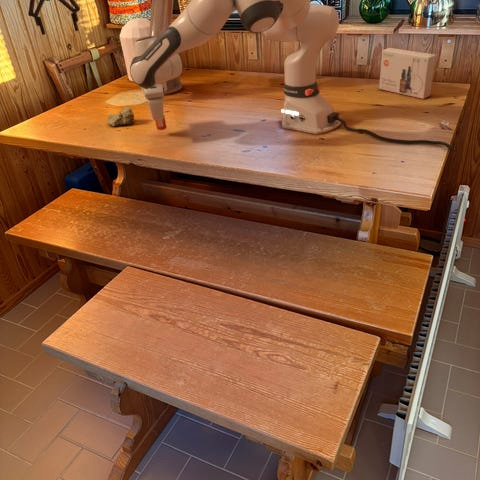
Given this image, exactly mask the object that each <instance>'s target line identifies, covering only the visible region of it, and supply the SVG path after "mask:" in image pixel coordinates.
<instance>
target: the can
mask: <svg viewBox="0 0 480 480" xmlns="http://www.w3.org/2000/svg"><path fill="white" fill-rule="evenodd" d="M154 122H155V127H156V130H157V131H163V130H166V129H167V122H166V117H165V115H164V119H163V127H159V126H158V122H157V120H156V121H155V120H154Z"/></svg>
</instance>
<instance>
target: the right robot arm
mask: <svg viewBox="0 0 480 480" xmlns="http://www.w3.org/2000/svg"><path fill="white" fill-rule="evenodd" d="M234 12H237V14H238V16H239V20H240V22H241V25H242V26H243V28H244V29H245V30H246V31H247V32H249V33H252V34H259V33H263V35H264V37H265V39H267V40H269V41H273V42H277V43H278V42H279V43H294V42H295V43H297V42H299V43H300V48H299V49H298V50H296V51H293V52H292V53H290V54H288V56H287V57H286V58H285V60H284V62H283V67H284V68H283V69H284V82H283V89H282V90H283V94H284V103H283V109H281V113H282V116H281V120H280V121H281V128H282V129H288V130H292V131H298V132H303V133H309V134H313V135H314V134H315V135H319V134H324V133H328V132H331V131H332V130H335V129H337V128H338V127H339V126H340V125H341V124H342V125H343V128H344V129H345V130H347V131H349V132H356V133H366V134H368V135H370V136H373V137H374V138H376V139H379V140H381V141H386V142H391V143H398V144H428V145H439V146H444V147H446V148H447V149H448V150H449V151H450V152H451V153H453V152H455V149H454V148H453V146H452V145H451V144H450V143H447V142H445V141H439V140H429V139H411V140H410V139H397V138H390V137H385V136H382V135H378V134H376V133H375V132H373V131H371V130H368V129H366V128H365V129H364V128H352V127H349V126H348V125H347V122H346V121H345V120H344V119H342V118H340V117H339V116H340V113H339V112H337V111H335V110H334V109H335V108H334V106H333V105H332V104H331V103H330V102H329V101H328V100H327V99H326V98H325V97H324V96H323V95H322V94H321V93H320V90H321V89H322V86H323V85H322V84H320V85H319V84H318V81H317V64H318V58H319V55H320V53H321V50H322V49H323V47H324V46H325V45H326V43H327V42H329V41H330V40H332V38H333V37H334V36H335V35H336V34H337V32H338V29H339V26H340V17H339V14H338V12H337V9H336V8H335V7H333V6H332V5H327V4H319V3H318V4H311V0H190V1H189V2H188V4H187V5H186V7H185V8H184V9H183V10H182V12H181V13H180V14H179V15H178V17H176V19H174V20H173V21H172V23H171V25H170V26H169V27H168V28H167V29H166V30H165V31H164V32H163V33H162V34H161V35H160V36H159V37H158V38H157V37H155V36H149V37H145V38H142V39H138V40H137V41H136V42H135V57H134V58H133V60H132V62H131V65H130V75H131V78H132V80H133V81H132V82H134V84H136V85H137V86H138V87H140V88H141V92H142V94H143V96H144V98H145V100H147V104H148V107H149V111H150V114H151V118H152V120H153V121H154V122H155V121H156V120H157V122H158V126H159V127H163V119H164V116H165V115H164V114H165V113H164V98H165V95H164V93H165V91H166V90H167V85H166V81H168V80H171V79H174V78H176V77H180V76H181V75H182V74H183V72H184V61H183V57H182V55H181V53H183V52H185V51H188V50H191V49H196V48H197V47H200V46H203V45H204V44H206V43H208V42H210V41H211V40H212V39H213V38H215V37H216V35H218V33H219V32H220V31H221V30H222V28H223V27H224V26H225V24H226V23H227V22H228V20H229V18H230V17H231V15H232V14H233V13H234ZM453 201H454V197H453V198H451V199H450V200H448V205H447V209H446V214H445V218H444V222H443V227H442V231H441V236H440V241H439V248H440V249H442V248H443V247H444V241H445V236H446V232H447V227H448V223H449V218H450V214H451V209H452V206H453Z"/></svg>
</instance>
